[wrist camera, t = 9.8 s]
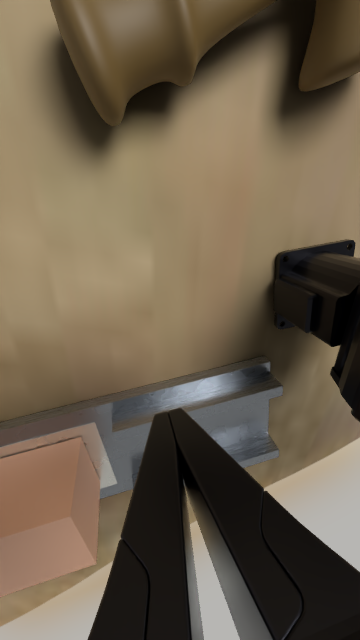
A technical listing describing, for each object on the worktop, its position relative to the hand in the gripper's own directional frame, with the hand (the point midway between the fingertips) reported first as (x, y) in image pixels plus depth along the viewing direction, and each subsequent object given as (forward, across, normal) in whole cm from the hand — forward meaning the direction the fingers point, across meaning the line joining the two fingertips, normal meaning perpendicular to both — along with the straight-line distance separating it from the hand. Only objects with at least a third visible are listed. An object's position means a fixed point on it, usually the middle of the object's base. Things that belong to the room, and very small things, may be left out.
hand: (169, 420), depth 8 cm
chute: (+12, +3, +14) cm, 18 cm away
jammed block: (+11, +11, +14) cm, 20 cm away
